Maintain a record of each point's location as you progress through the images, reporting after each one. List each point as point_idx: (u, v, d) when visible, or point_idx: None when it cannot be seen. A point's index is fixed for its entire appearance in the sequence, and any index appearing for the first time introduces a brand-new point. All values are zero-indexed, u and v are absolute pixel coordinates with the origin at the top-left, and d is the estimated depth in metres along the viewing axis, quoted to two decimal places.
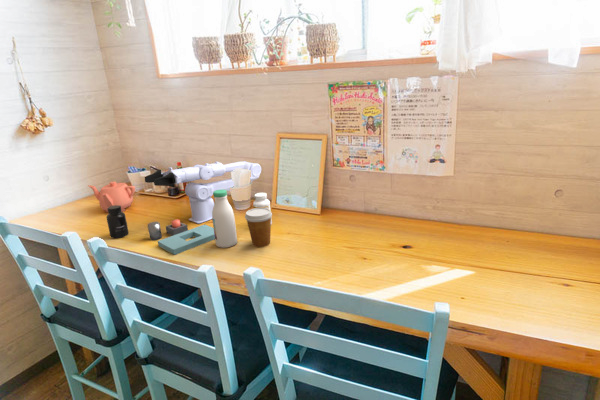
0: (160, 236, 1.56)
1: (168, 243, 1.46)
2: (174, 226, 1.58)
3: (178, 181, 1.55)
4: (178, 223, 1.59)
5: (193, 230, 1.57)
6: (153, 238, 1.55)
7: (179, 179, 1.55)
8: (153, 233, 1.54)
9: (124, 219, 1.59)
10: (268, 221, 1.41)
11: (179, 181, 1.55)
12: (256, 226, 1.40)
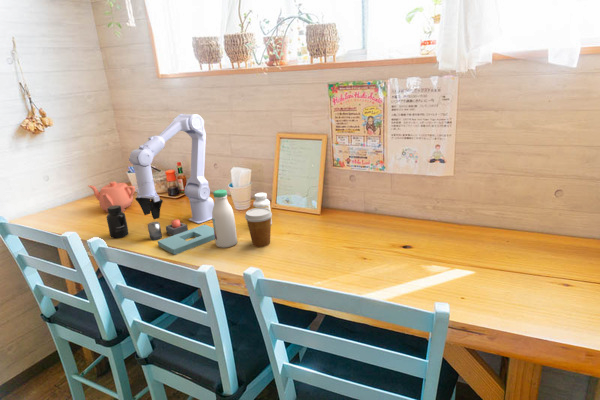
0: (160, 236, 1.56)
1: (168, 243, 1.46)
2: (174, 226, 1.58)
3: (158, 199, 1.47)
4: (178, 223, 1.59)
5: (193, 230, 1.57)
6: (153, 238, 1.55)
7: (156, 198, 1.46)
8: (153, 233, 1.54)
9: (124, 219, 1.59)
10: (268, 221, 1.41)
11: (158, 198, 1.47)
12: (256, 226, 1.40)
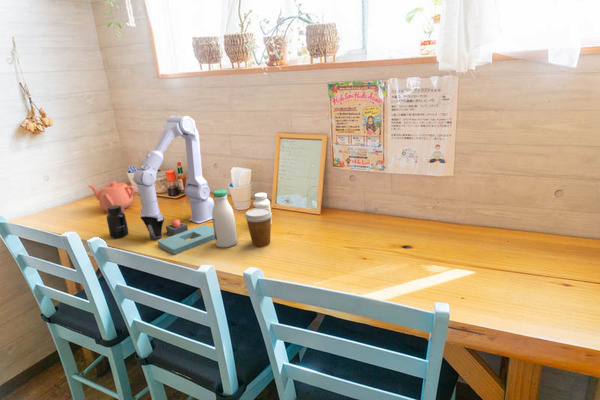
0: (160, 236, 1.56)
1: (168, 243, 1.46)
2: (174, 226, 1.58)
3: (161, 218, 1.49)
4: (178, 223, 1.59)
5: (193, 230, 1.57)
6: (153, 238, 1.55)
7: (159, 217, 1.49)
8: (153, 233, 1.54)
9: (124, 219, 1.59)
10: (268, 221, 1.41)
11: (161, 217, 1.49)
12: (256, 226, 1.40)
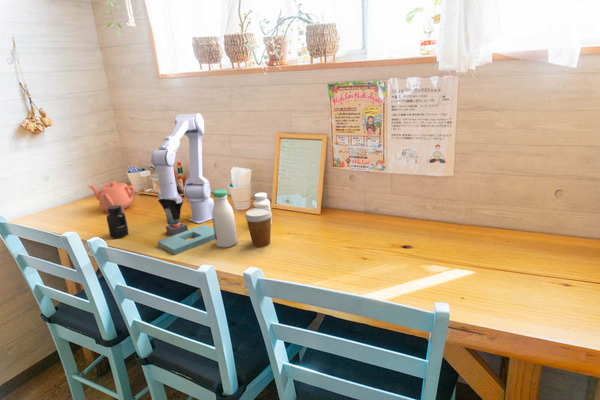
0: (177, 221, 1.50)
1: (168, 243, 1.46)
2: (174, 226, 1.58)
3: (180, 200, 1.44)
4: (178, 223, 1.59)
5: (193, 230, 1.57)
6: (170, 222, 1.49)
7: (178, 200, 1.43)
8: (170, 217, 1.48)
9: (124, 219, 1.59)
10: (268, 221, 1.41)
11: (180, 199, 1.44)
12: (256, 226, 1.40)
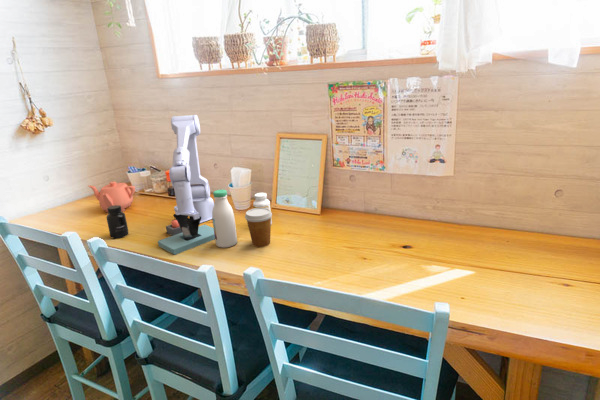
0: None
1: (168, 243, 1.46)
2: (174, 226, 1.58)
3: (198, 216, 1.44)
4: None
5: None
6: None
7: (196, 216, 1.43)
8: (187, 236, 1.49)
9: (124, 219, 1.59)
10: (268, 221, 1.41)
11: (198, 215, 1.44)
12: (256, 226, 1.40)
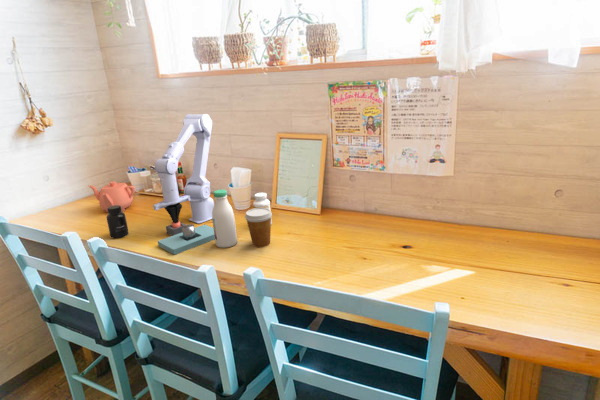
0: None
1: (168, 243, 1.46)
2: (174, 227, 1.58)
3: (155, 208, 1.52)
4: (178, 224, 1.59)
5: None
6: None
7: (154, 207, 1.52)
8: (187, 236, 1.49)
9: (124, 219, 1.59)
10: (268, 221, 1.41)
11: (155, 207, 1.52)
12: (256, 226, 1.40)
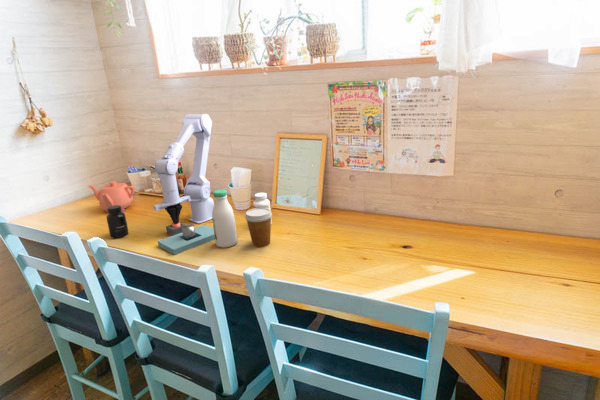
0: None
1: (168, 243, 1.46)
2: None
3: (155, 209, 1.52)
4: (178, 225, 1.59)
5: None
6: None
7: (154, 207, 1.52)
8: (187, 236, 1.49)
9: (124, 219, 1.59)
10: (268, 221, 1.41)
11: (155, 208, 1.52)
12: (256, 226, 1.40)
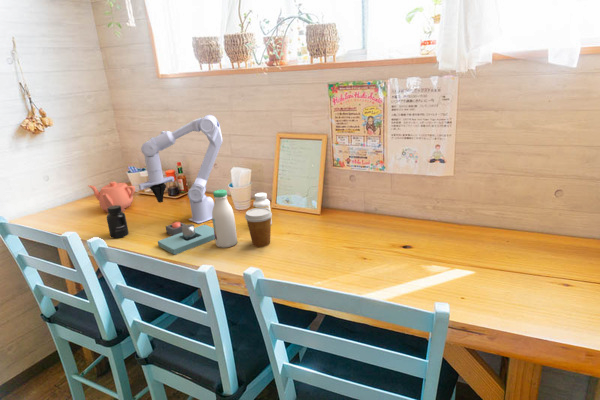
0: None
1: (168, 243, 1.46)
2: None
3: (140, 188, 1.62)
4: (178, 225, 1.59)
5: None
6: None
7: (139, 186, 1.62)
8: (187, 236, 1.49)
9: (124, 219, 1.59)
10: (268, 221, 1.41)
11: (140, 187, 1.62)
12: (256, 226, 1.40)
